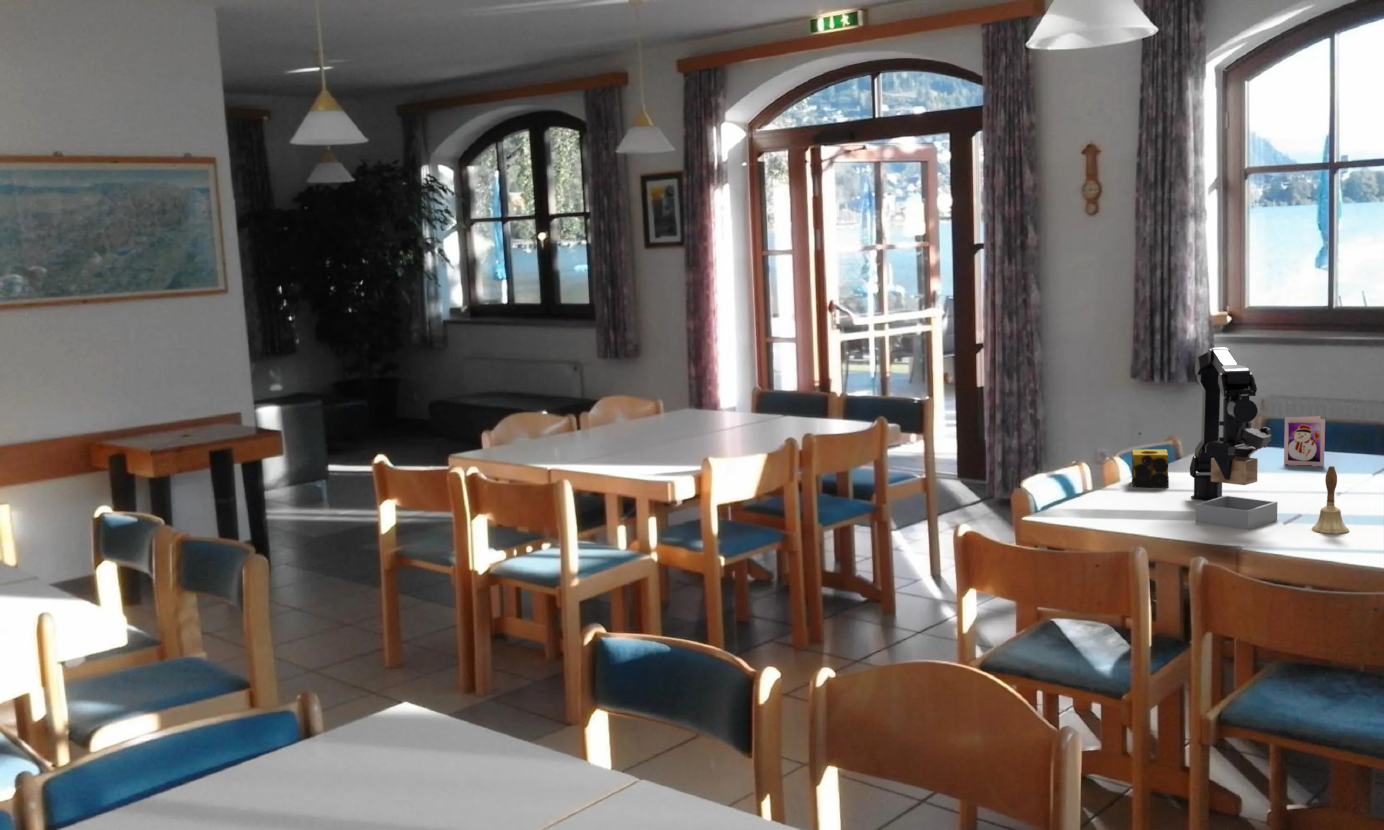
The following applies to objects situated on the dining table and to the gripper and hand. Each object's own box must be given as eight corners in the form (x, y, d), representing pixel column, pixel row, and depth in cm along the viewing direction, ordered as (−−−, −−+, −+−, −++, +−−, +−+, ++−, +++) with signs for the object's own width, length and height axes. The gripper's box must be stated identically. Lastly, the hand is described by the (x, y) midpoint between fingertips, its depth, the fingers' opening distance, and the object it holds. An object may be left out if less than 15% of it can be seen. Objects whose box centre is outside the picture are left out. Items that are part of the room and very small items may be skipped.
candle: (1167, 482, 390) (1167, 449, 389) (1169, 488, 380) (1169, 454, 379) (1131, 481, 393) (1131, 448, 391) (1132, 487, 383) (1133, 454, 382)
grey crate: (1195, 523, 335) (1195, 504, 335) (1225, 513, 345) (1225, 495, 344) (1248, 530, 325) (1248, 511, 324) (1277, 521, 334) (1277, 502, 333)
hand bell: (1304, 527, 324) (1306, 464, 322) (1336, 526, 325) (1338, 463, 323) (1323, 535, 316) (1325, 470, 314) (1356, 533, 317) (1358, 468, 315)
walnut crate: (1210, 481, 335) (1211, 458, 335) (1223, 477, 339) (1224, 455, 339) (1244, 485, 328) (1244, 461, 328) (1257, 481, 332) (1257, 458, 332)
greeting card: (1283, 465, 409) (1284, 418, 407) (1286, 461, 415) (1287, 414, 413) (1323, 467, 403) (1324, 419, 401) (1326, 463, 409) (1327, 416, 407)
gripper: (1246, 423, 320) (1245, 486, 322) (1283, 415, 331) (1282, 476, 333) (1204, 420, 328) (1203, 481, 330) (1241, 412, 340) (1241, 471, 342)
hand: (1234, 477), depth 334 cm, fingers closed on walnut crate, 6 cm apart
